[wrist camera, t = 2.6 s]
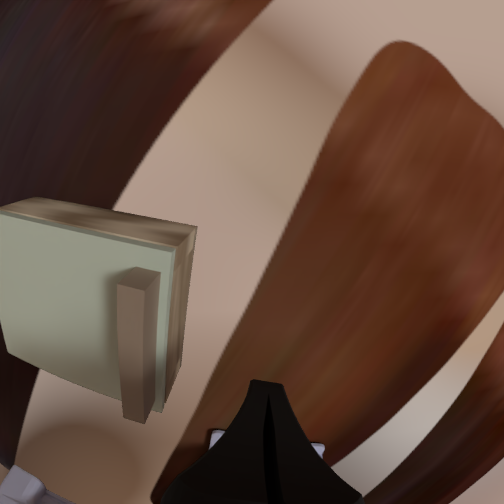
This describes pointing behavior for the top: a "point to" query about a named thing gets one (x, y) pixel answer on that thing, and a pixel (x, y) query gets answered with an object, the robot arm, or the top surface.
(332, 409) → the top surface
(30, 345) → the lid
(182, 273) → the pine box
